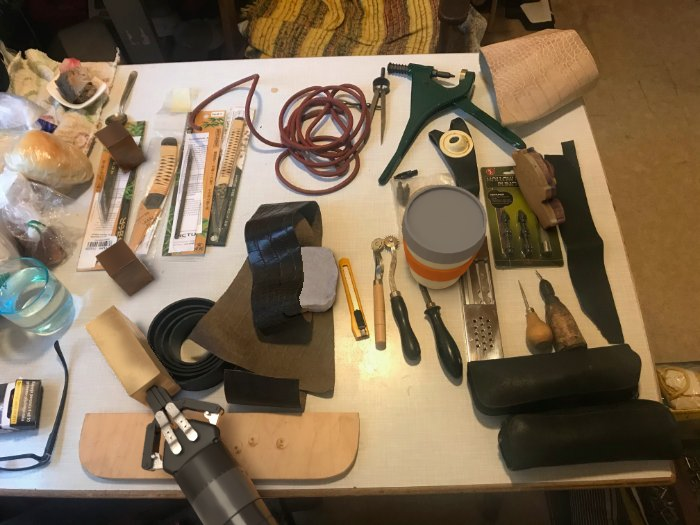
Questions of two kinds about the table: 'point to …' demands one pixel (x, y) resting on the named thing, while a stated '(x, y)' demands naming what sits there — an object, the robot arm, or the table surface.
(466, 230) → the reusable coffee cup
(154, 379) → the birch block
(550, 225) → the wooden carving
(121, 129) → the pillar far
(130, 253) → the pillar near
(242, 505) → the robot arm
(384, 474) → the table surface
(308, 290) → the stone block
